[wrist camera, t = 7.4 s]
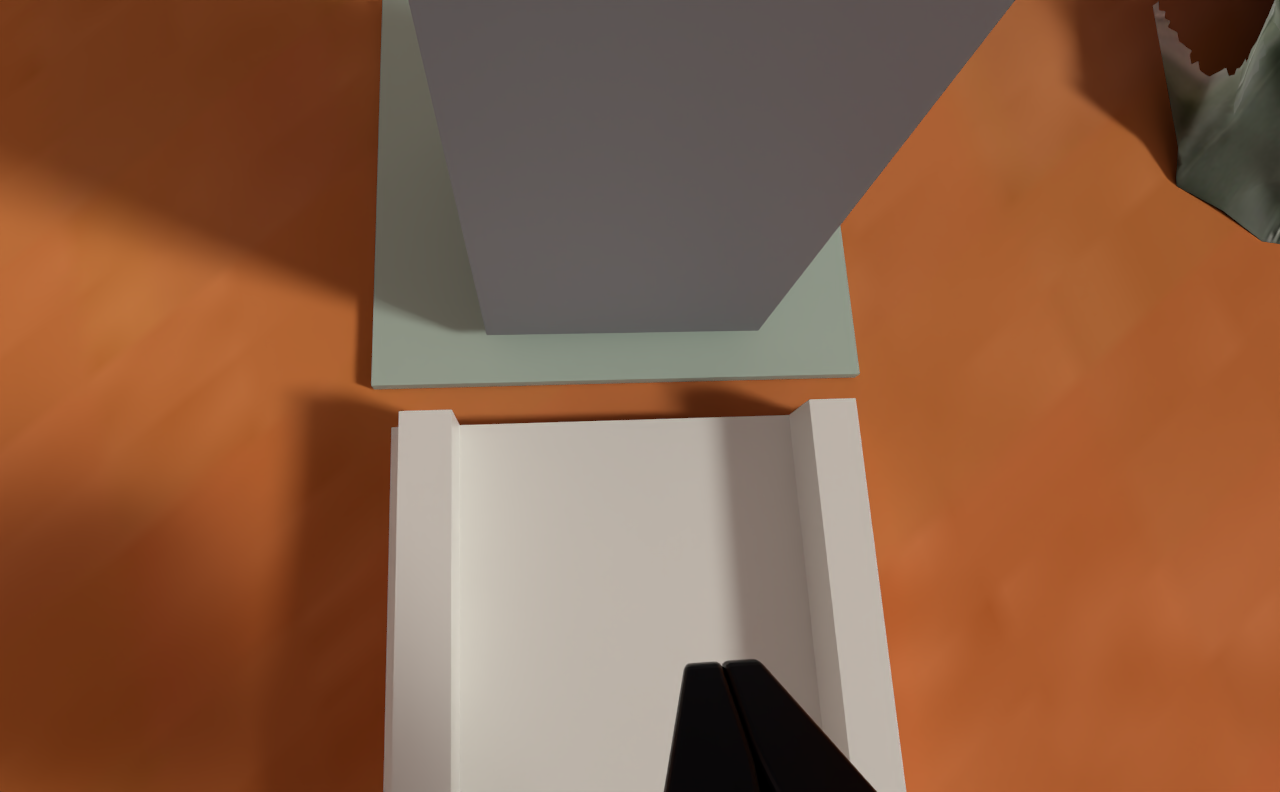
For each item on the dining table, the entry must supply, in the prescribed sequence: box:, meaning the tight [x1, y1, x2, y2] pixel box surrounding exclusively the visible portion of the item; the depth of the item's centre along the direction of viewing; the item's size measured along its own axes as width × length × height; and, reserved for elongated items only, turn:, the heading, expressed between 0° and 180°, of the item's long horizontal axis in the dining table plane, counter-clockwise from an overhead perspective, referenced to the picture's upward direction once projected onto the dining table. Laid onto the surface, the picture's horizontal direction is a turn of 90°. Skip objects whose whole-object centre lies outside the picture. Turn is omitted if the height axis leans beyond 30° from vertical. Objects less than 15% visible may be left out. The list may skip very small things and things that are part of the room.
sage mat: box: [371, 0, 860, 389], centre depth 19 cm, size 10×11×1 cm
